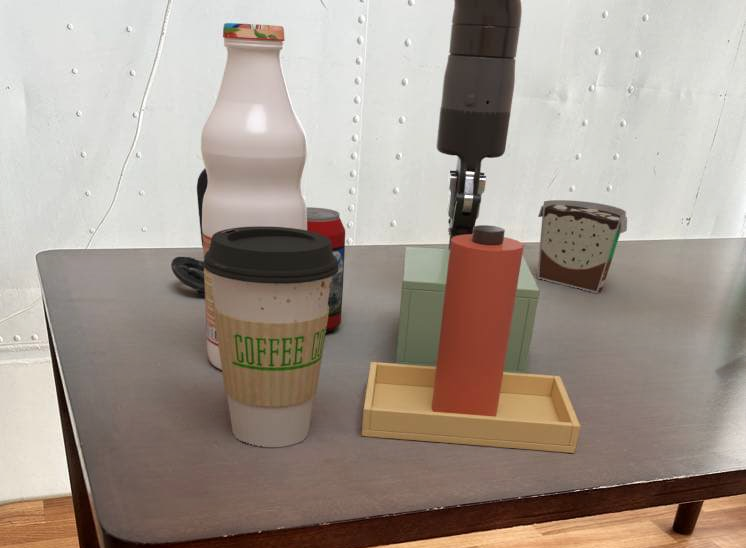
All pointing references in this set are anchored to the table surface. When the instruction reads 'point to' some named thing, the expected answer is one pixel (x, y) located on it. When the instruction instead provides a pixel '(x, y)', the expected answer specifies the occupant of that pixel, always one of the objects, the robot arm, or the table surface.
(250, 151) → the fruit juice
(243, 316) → the coffee cup
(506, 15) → the robot arm
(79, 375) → the table surface
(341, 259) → the beverage can
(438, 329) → the cabinet
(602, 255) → the food container
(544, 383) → the tray
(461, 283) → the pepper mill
